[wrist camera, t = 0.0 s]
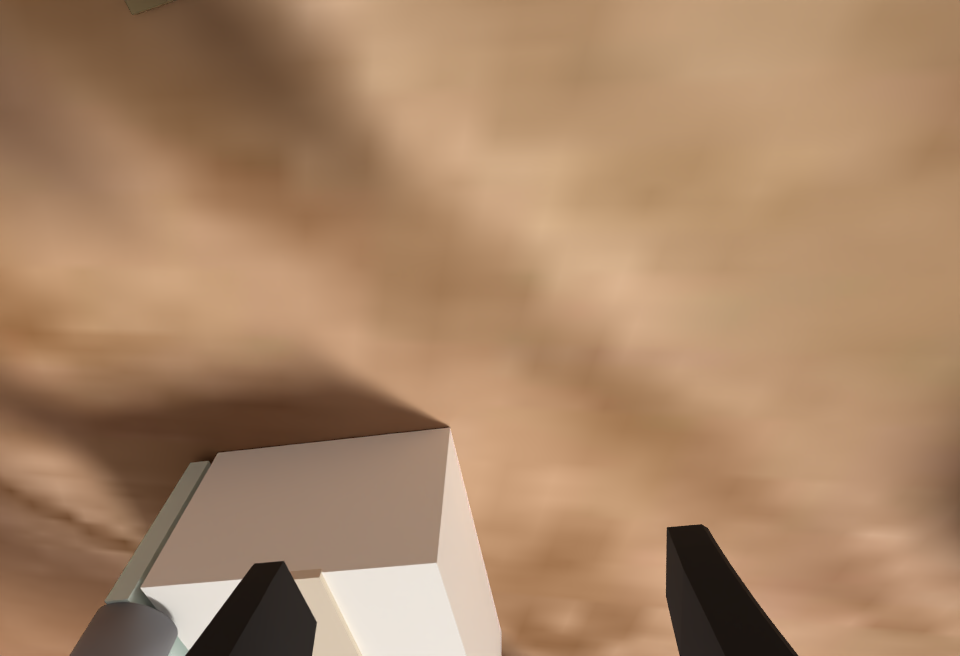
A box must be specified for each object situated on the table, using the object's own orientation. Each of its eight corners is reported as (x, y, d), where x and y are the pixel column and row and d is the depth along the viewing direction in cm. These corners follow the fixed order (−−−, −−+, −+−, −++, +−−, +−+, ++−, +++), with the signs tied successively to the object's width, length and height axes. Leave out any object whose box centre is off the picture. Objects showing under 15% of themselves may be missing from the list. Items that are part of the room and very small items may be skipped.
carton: (501, 631, 30) (502, 775, 24) (322, 644, 31) (286, 784, 25) (449, 426, 22) (436, 567, 17) (217, 451, 23) (135, 592, 18)
